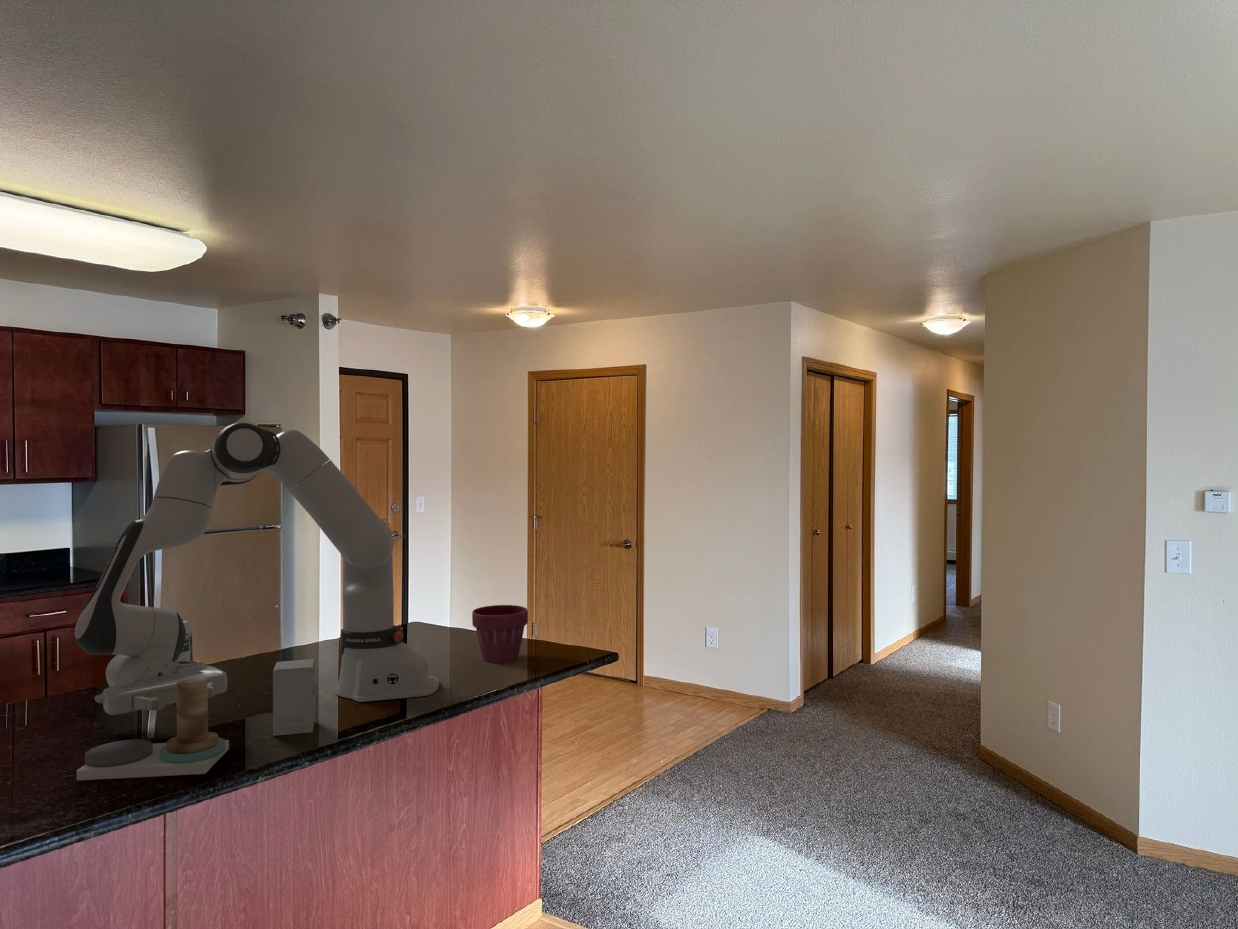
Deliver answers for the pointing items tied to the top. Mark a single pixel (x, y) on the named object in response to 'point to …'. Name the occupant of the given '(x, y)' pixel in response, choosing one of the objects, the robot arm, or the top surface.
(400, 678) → the robot arm
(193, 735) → the brown cylinder round base
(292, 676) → the supplement box
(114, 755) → the double oval pad board
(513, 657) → the plant pot
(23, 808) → the top surface
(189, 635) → the syrup box
